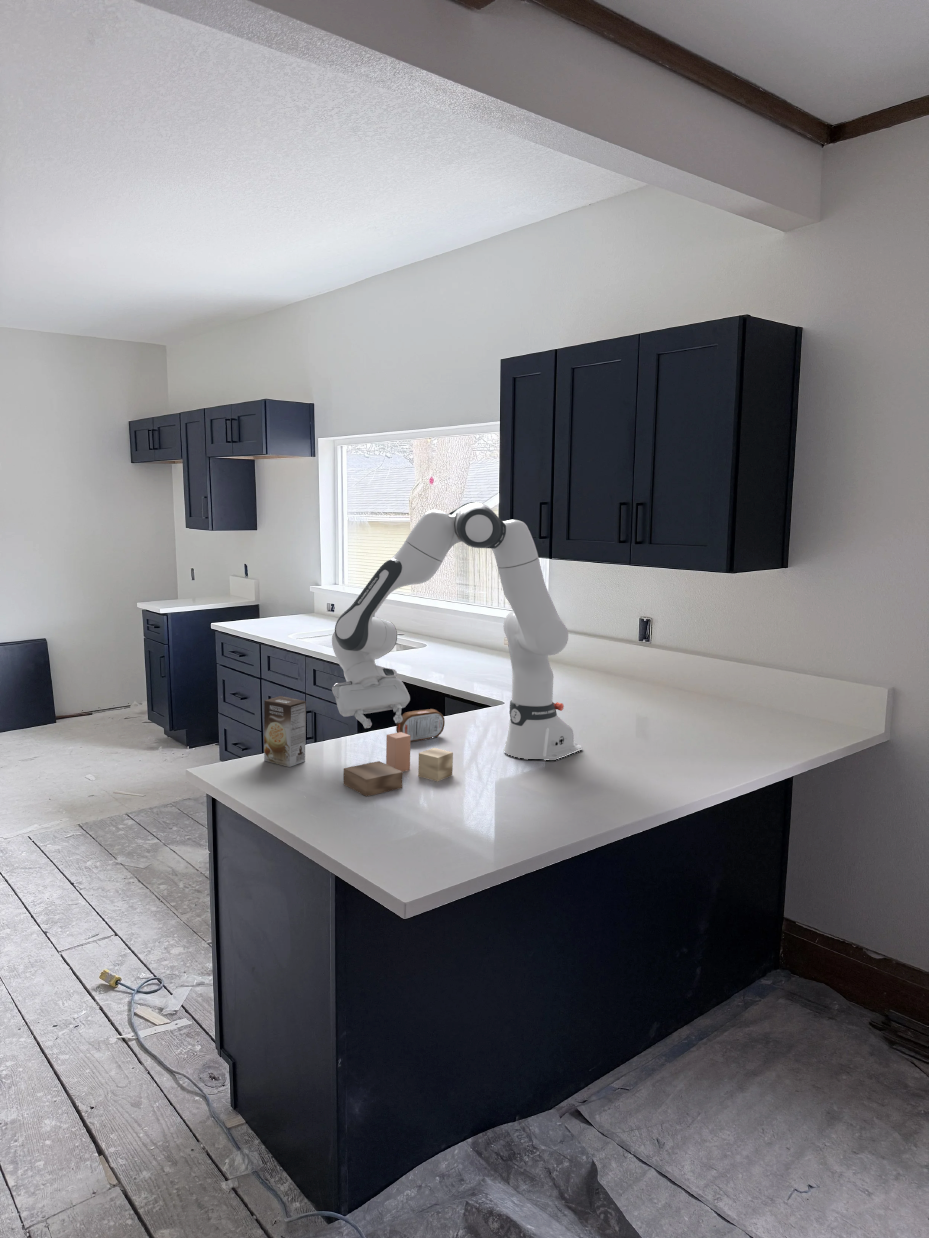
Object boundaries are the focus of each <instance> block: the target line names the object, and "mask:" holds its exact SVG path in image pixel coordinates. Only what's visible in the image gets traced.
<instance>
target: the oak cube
mask: <svg viewBox="0 0 929 1238" xmlns="http://www.w3.org/2000/svg"><path fill="white" fill-rule="evenodd" d="M453 765H454V752H453V751H448V750H446V749H440V748H437V747H432V748H429V749H427V750H423V751H421V752H418V768H417V769H418V772H417V773H418V777H419V778H423V779H428V780H430V779H431V781H434V782H440V781H442V780H444V779H447V778H450V777H452V776H453V770H454V768H453ZM449 776H450V777H449Z"/></svg>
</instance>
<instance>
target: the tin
mask: <svg viewBox="0 0 929 1238" xmlns="http://www.w3.org/2000/svg"><path fill="white" fill-rule="evenodd" d="M401 716H402V718H403V720H402V722H400V723H396V727H395V729H396V733H399V732H403V733H405V734H408V735H410V736H411V738H410V743H414V742H419V741H424V740H425V739H427V740H431V739H430V738H432V737H436V738H438V737H439V736H441V734H442V733H443V731H444V728H445V721H446V719H445V716H444V715H443V714H442V713H441V712H439V711H438V710H437V709H434V708H430V709H429V708H427V709H419V710H412V711H407V712H406V711H405V712H404V713H403V714H401ZM437 736H438V737H437Z"/></svg>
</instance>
